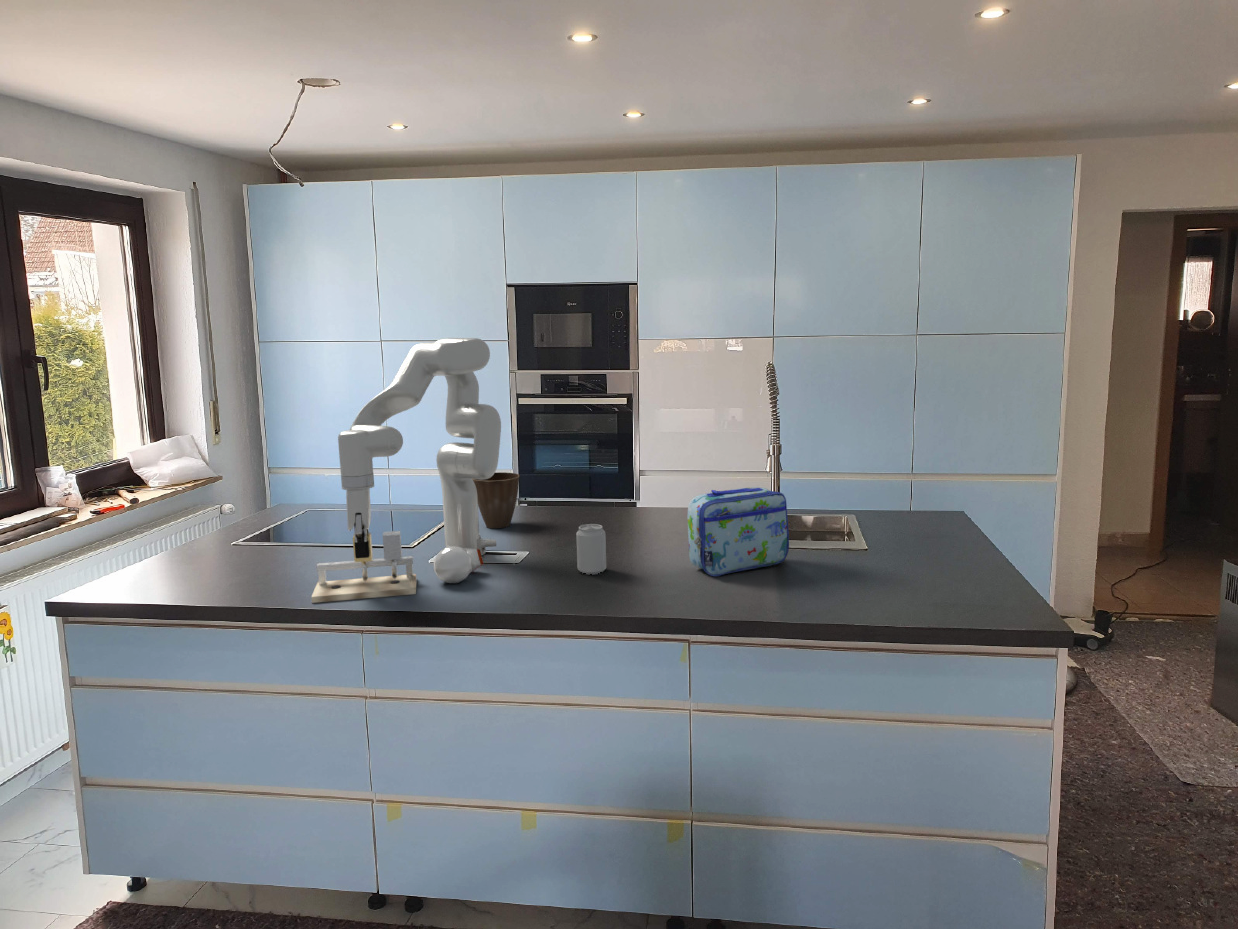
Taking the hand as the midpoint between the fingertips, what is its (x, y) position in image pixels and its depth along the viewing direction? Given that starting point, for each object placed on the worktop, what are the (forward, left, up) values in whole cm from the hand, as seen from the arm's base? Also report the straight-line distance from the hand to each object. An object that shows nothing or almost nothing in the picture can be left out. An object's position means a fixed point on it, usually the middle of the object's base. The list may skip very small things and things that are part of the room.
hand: (363, 554), depth 214 cm
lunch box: (-93, +8, -10) cm, 94 cm away
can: (-56, 0, -10) cm, 57 cm away
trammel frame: (0, -2, -8) cm, 8 cm away
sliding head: (0, -2, -7) cm, 7 cm away
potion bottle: (-22, -4, -10) cm, 25 cm away
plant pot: (-36, -57, -10) cm, 69 cm away
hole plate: (0, 0, -9) cm, 9 cm away
